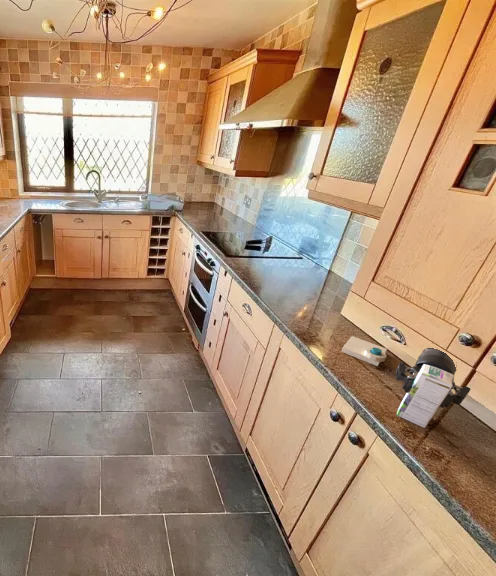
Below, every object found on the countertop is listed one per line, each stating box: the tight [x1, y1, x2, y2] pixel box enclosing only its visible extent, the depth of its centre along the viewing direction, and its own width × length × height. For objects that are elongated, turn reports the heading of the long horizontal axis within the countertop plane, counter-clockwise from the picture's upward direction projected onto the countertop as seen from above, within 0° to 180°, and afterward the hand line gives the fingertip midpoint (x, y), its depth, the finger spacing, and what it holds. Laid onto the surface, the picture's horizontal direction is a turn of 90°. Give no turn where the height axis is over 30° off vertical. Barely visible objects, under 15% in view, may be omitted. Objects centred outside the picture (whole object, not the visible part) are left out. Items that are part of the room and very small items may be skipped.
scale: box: [340, 335, 388, 367], centre depth 103 cm, size 11×11×4 cm
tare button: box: [371, 347, 382, 356], centre depth 98 cm, size 2×2×2 cm
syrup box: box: [396, 364, 455, 429], centre depth 77 cm, size 6×6×14 cm
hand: (424, 396), depth 75 cm, fingers closed on syrup box, 6 cm apart
